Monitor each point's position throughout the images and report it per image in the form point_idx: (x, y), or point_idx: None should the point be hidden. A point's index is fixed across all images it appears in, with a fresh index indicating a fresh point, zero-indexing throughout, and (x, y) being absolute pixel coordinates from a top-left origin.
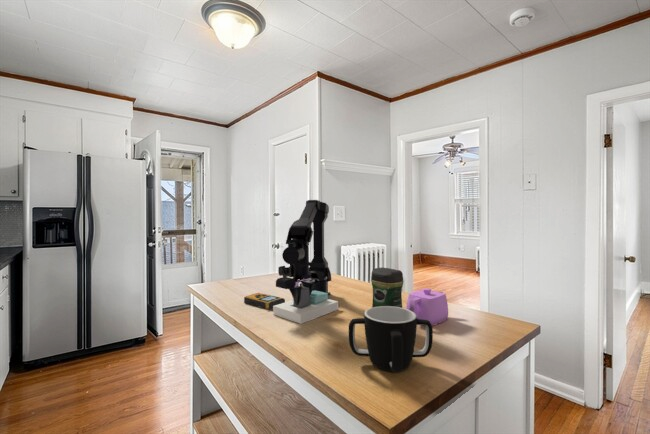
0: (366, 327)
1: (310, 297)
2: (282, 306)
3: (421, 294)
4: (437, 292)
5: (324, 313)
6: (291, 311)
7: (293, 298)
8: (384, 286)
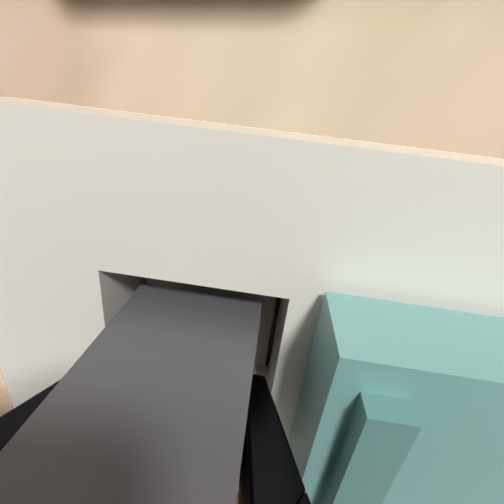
0: None
1: (299, 465)
2: (7, 220)
3: None
4: None
5: None
6: (6, 379)
7: (29, 404)
8: None
